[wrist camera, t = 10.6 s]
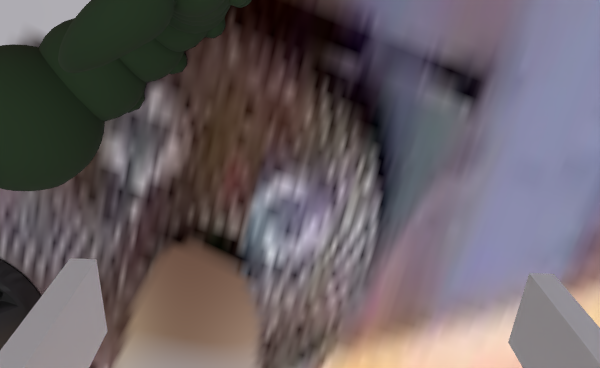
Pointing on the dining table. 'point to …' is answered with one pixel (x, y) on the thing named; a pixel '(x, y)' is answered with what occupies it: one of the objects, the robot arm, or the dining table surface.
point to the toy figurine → (90, 81)
